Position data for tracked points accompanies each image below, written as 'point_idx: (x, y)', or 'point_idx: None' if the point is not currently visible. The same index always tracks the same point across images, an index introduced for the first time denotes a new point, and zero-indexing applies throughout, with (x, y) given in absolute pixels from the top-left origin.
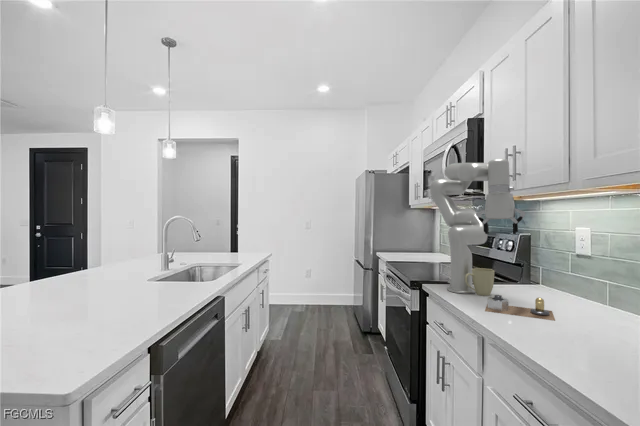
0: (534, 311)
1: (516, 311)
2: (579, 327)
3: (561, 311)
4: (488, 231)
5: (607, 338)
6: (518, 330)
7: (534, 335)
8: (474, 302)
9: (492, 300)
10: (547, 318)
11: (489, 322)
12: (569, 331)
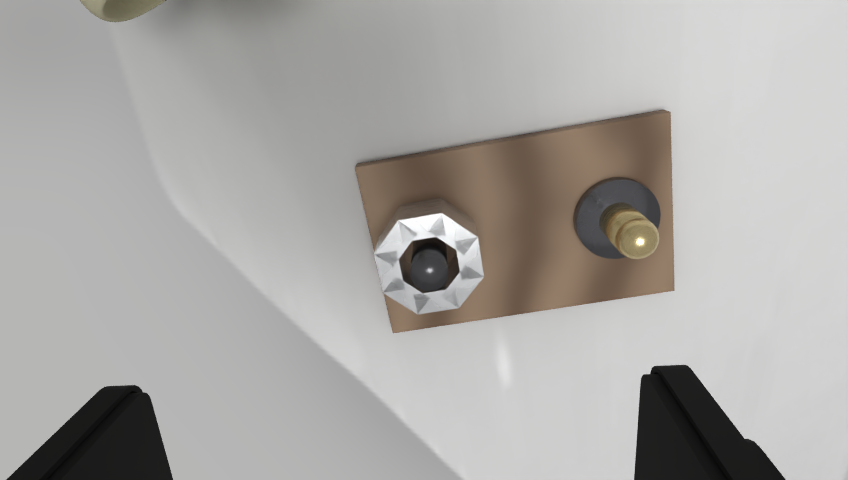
0: (595, 248)
1: (514, 246)
2: (754, 265)
3: (713, 2)
4: (123, 428)
5: (823, 343)
6: (545, 438)
7: (596, 455)
8: (274, 130)
9: (413, 311)
10: (644, 277)
11: (441, 414)
12: (709, 343)
